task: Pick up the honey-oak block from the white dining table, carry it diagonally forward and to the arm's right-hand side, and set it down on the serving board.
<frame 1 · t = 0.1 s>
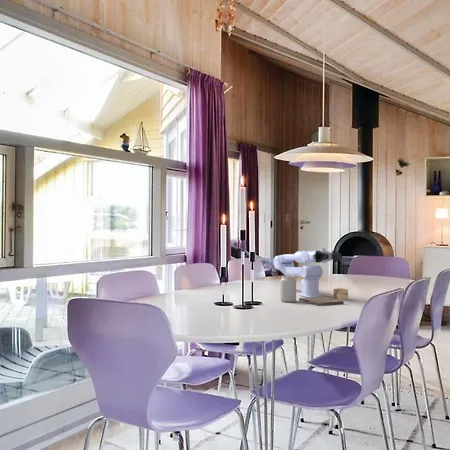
hand: (334, 256, 234), 22 cm above the table, tool horizontal, fingers open, 7 cm apart
serving board: (320, 302, 234), on the table
can: (288, 301, 236), on the table
oak block: (340, 299, 244), on the table
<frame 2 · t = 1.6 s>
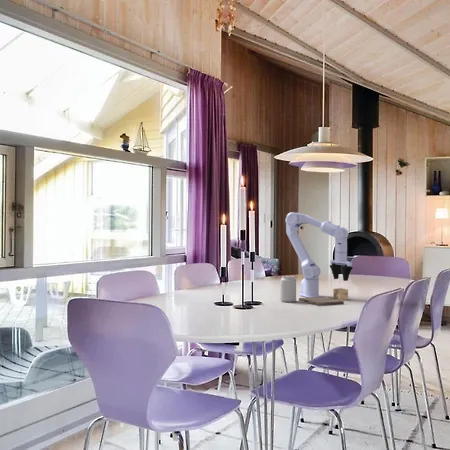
hand: (340, 279, 244), 9 cm above the table, tool pointing down, fingers open, 7 cm apart
nothing on the table moved.
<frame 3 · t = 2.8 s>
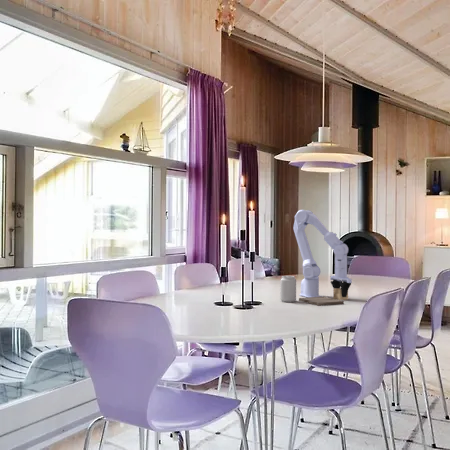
hand: (340, 296, 244), 1 cm above the table, tool pointing down, fingers closed on oak block, 5 cm apart
oak block: (340, 299, 244), on the table, touching gripper
everything else where it was.
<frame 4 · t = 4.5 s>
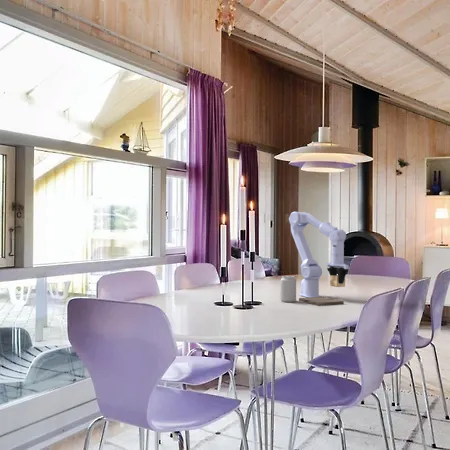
hand: (337, 282, 240), 8 cm above the table, tool pointing down, fingers closed on oak block, 5 cm apart
oak block: (337, 286, 240), point 7 cm above the table, touching gripper
everything else where it was.
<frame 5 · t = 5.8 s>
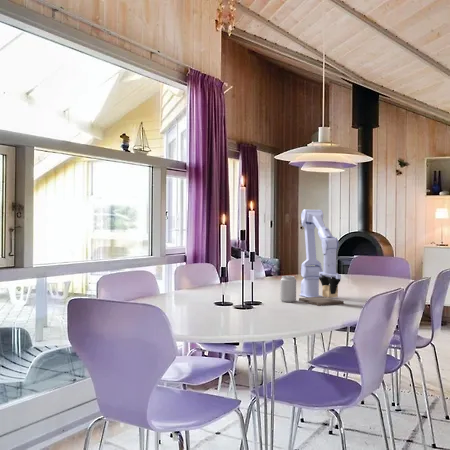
hand: (329, 293, 231), 5 cm above the table, tool pointing down, fingers closed on oak block, 5 cm apart
oak block: (330, 296, 231), point 3 cm above the table, touching gripper
everything else where it was.
when the fingers open (4 cm above the table, at t = 6.5 s): oak block drops 1 cm, resting on serving board.
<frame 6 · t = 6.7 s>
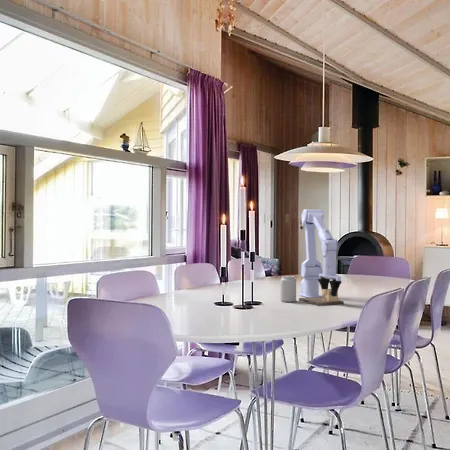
hand: (329, 294, 231), 4 cm above the table, tool pointing down, fingers open, 7 cm apart
oak block: (329, 300, 231), point 1 cm above the table, touching serving board
everything else where it was.
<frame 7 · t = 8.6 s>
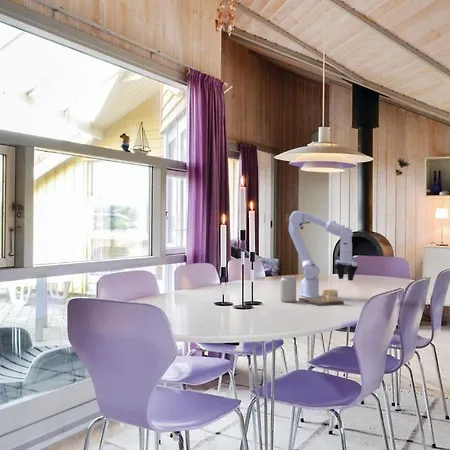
hand: (345, 279, 245), 9 cm above the table, tool pointing down, fingers open, 7 cm apart
nothing on the table moved.
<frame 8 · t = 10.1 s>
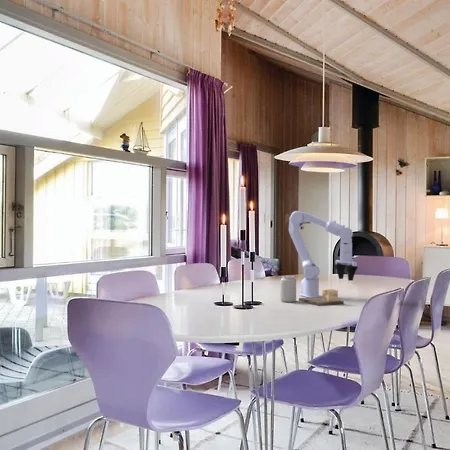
hand: (345, 279, 245), 9 cm above the table, tool pointing down, fingers open, 7 cm apart
nothing on the table moved.
at the end: oak block inside the target area on the serving board (4.6 cm from its centre), point 1.2 cm above the serving board's base; oak block tilted 0°; oak block moved 15.6 cm from its start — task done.
